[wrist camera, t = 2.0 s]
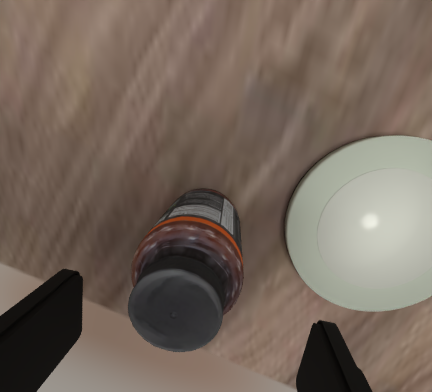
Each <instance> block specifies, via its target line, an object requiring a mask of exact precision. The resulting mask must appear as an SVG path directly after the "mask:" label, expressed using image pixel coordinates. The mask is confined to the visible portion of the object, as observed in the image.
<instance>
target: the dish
mask: <svg viewBox="0 0 432 392" xmlns="http://www.w3.org/2000/svg"><path fill="white" fill-rule="evenodd" d="M285 240H286V245H287V249H288V252H289V255H290V257H291V259H292V262H293V264H294V266H295V268H296V270H297V272H298V273H299V275H300V277H301V278H302V279H303V280H304V282H305V283H306V284H307V285H308V286H309V287H310V288H311V289H312V290H313V291H314V292H315V293H317V294H318V295H320V296H321V297H323V298H324V299H326V300H328V301H330V302H332V303H334V304H337V305H339V306H342V307H345V308H349V309H353V310H360V311H388V310H394V309H399V308H403V307H407V306H410V305H413V304H416V303H418V302H420V301H423V300H425V299H427V298H429V297H431V296H432V141H431V140H428V139H423V138H419V137H411V136H393V135H391V136H375V137H370V138H364V139H361V140H358V141H354V142H351V143H349V144H347V145H344V146H342V147H340V148H338V149H336V150H335V151H333V152H331V153H329V154H328V155H327V156H325V157H324V158H323V159H321V160H320V161H319V162H317V163H316V164H315V165H314V166H313V167H312V168H311V169H310V170H309V171H308V172H307V174H306V175H305V176H304V177H303V179H302V180H301V181H300V183H299V184H298V186H297V188H296V189H295V191H294V193H293V195H292V197H291V200H290V202H289V205H288V209H287V212H286V218H285Z"/></svg>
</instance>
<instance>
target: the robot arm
mask: <svg viewBox="0 0 432 392" xmlns="http://www.w3.org/2000/svg"><path fill="white" fill-rule="evenodd" d="M82 295H83V278H82V276H80V274H79V272H78V271H73V270H68V269H62V270H61V271H59V272H58V273H57V274H55V275H54V276H53V277H51V278H50V279H49V280H47V281H46V282H45V283H43V284H42V285H41V286H39V287H38V288H37V289H35V290H34V291H33V292H32V293H30V294H29V295H28V296H26V297H25V298H24V299H22V300H21V301H20V302H19V303H17V304H16V305H14V306H13V307H12V308H10V309H9V310H8V311H6V312H5V313H4V314H2V315H1V316H0V392H37V390H38V389H39V388H40V386H41V385H42V384H43V383H44V382H45V380H46V379H47V378H48V377H49V375H50V374H51V372H53V370H54V369H55V368H56V366H57V365H58V364H59V363H60V361H61V360H62V359H63V358H64V356H65V355H66V354H67V353H68V351H69V350H70V349H71V348H72V346H73V345H74V344H75V343H76V341H77V340H78V338H79V337H80V335H81V332H82ZM296 387H297V392H372V390H371V388H370V386H369V384H368V382H367V380H366V378H365V376H364V374H363V373H362V371H361V370H360V369H359V368H358V367H357V366H356V364H355V362H354V360H353V358H352V356H351V354H350V351H349V349H348V347H347V345H346V343H345V341H344V339H343V337H342V335H341V333H340V331H339V329H338V327H337V325H336V324H335V323H331V322H326V321H321V320H319V321H318V322H317V324H316V323H313V325H312V328H311V331H310V334H309V337H308V341H307V344H306V347H305V351H304V354H303V357H302V360H301V364H300V367H299V370H298V373H297V377H296Z"/></svg>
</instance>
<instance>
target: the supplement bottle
mask: <svg viewBox="0 0 432 392" xmlns="http://www.w3.org/2000/svg"><path fill="white" fill-rule="evenodd" d="M131 276H132V283H133V287H134V288H133V290H132V292H131V294H130V297H129V303H128V313H129V317H130V320H131V322H132V324H133V326H134V328H135V329H136V330H137V332H138V333H139V334H140V335H141V336H142V337H143V338H144V339H145V340H146V341H147V342H149V343H151V344H152V345H153V346H156V347H159V348H161V349H165V350H168V351H173V352H185V351H193V350H196V349H198V348H200V347H203V346H205V345H206V344H207V343H208V342H210V341H211V340H212V339H213V338H214V337H215V335H216V334H217V332H218V331H219V329H220V326H221V323H222V318H223V315H224V314H226V313H227V312H228V311H229V310H231V308H232V307H233V305H234V304H235V303H236V301H237V299H238V297H239V295H240V292H241V289H242V285H243V279H244V277H243V261H242V245H241V233H240V221H239V217H238V214H237V210H236V209H235V207H234V205H233V204H232V203H231V201H230V200H229V199H228V198H226V197H225V196H224V195H222V194H221V193H219V192H217V191H213V190H209V189H196V190H192V191H189V192H187V193H185V194H184V195H182V196H181V197H179V198H178V199H177V200H176V201H175V202H174V203H173V204H172V206H171V207H170V208H169V209H168V210H167V211H166V213H165V214H164V215H163V216H162V217H161V218H160V220H159V221H158V222H157V223H156V224H155V225H154V227H153V228H152V229H151V230H150V231H149V232H148V234H147V235H146V236H145V237H144V239H143V240H142V241H141V243H140V244H139V246H138V248H137V250H136V252H135V255H134V258H133V261H132V267H131Z"/></svg>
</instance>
